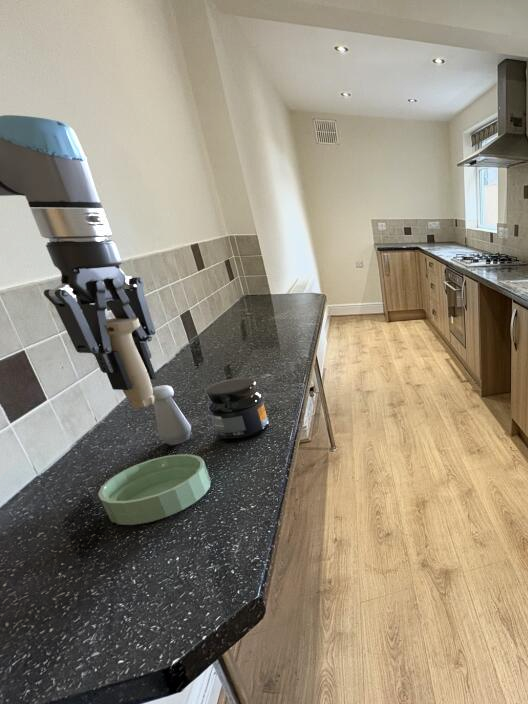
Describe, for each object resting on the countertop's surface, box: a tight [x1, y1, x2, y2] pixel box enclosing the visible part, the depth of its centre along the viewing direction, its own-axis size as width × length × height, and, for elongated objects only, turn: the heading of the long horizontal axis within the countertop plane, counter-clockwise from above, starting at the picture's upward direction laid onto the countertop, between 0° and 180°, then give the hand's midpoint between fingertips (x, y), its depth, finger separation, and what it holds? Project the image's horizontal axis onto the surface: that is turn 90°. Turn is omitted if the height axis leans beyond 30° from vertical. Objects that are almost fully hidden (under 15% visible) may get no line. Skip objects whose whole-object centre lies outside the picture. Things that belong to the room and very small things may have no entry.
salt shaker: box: [152, 384, 192, 446], centre depth 90 cm, size 6×6×13 cm
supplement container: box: [204, 377, 270, 444], centre depth 93 cm, size 10×10×12 cm
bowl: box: [97, 453, 212, 526], centre depth 72 cm, size 14×14×5 cm
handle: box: [106, 317, 155, 409], centre depth 69 cm, size 5×6×15 cm
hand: (135, 383), depth 70 cm, fingers closed on handle, 4 cm apart
